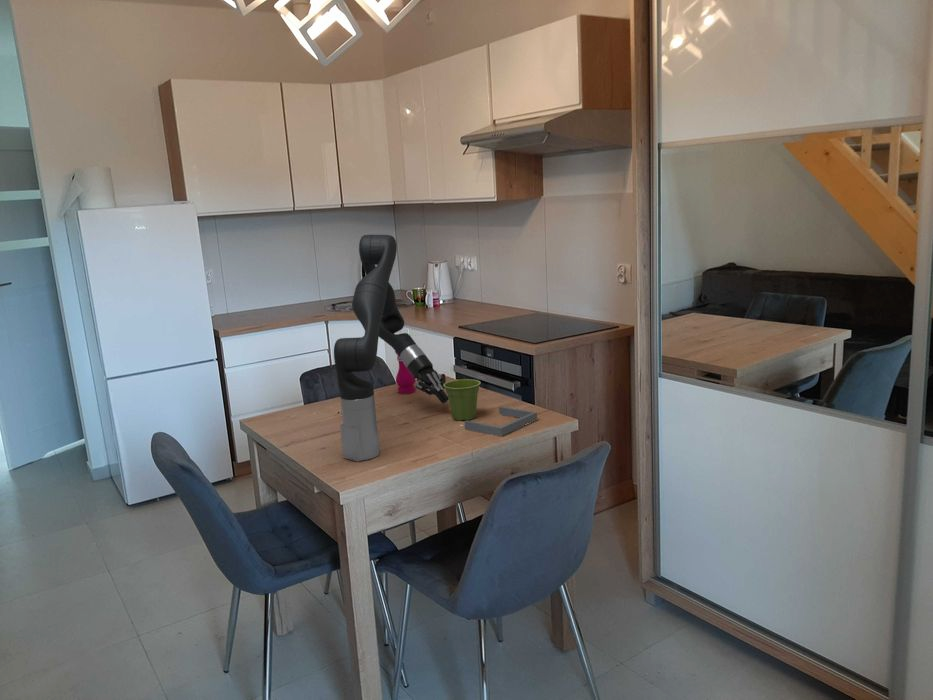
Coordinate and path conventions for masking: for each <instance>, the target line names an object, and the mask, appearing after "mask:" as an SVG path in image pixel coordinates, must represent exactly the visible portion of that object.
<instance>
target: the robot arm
mask: <svg viewBox="0 0 933 700" xmlns="http://www.w3.org/2000/svg"><path fill="white" fill-rule="evenodd" d="M397 244H398V243H397V241H396V238H395V237H394V236H393V235H389V234H364V235H362V236H361V237H360V239H359V244H358V252H359V253H358V254H359V259H360V262H361V264H362V265H361V266H362V267H363V270H364V273H365V276H363V278H362V279H360V281H358V283H357V284H356V286H355V290H354V293H353V297H352V302H351V303H352V304H351V307H352V310H353V313H354V315H355V316H356V318H357V319H358V321H359V322H360V324H361V326H362V328H363V330H364V334H363V336H361V337H360V336H359V337H340V338H338V339H336V340H335V343H334V346H333V359H334V361H333V362H334V366H335V371H336V372H335V373H336V380H337V386H338V391H339V397H340V406H341V407H340V408H341V409H340V410H341V419H342V424H340V426H339V429H340V437H341V438H340V439H341V446H342V447H341V448H342V457H343V459H346V460H350V461H354V462H358V463H359V462H362V461H367V460H371V459H374V458H376V457H378V456H379V455H380V443H379V434H378V433H379V432H378V431H379V430H378V421H377V411H376V410H377V409H376V400H375V399H376V398H375V390H374V389H375V388H374V385H373V383H372V382H370V381H367V380H364V379H361V378H360V377H358V376H356V375H355V374H354V372H359V373H360V372H369V371H370V372H371V370H373V369H374V368H375V364H376V362H377V356H378V346H379V338H380V339H381V340H383V341H384V342H385V343H386V344H388V345H389V346H390V347H392V349H393V350H394V352H395V351H396V352H397V354H398V355H399V357H400V358H401V360H402V362H403V363H404V365H405V366H406V367H407V369H408V370H409V372H410V373H411V374H412V376H413V377H414V378H415V379H416V381H417V384H416V385H415V389H418V390H419V391H421V392H423V393H425V394H427V395H429V396H432V395H434V396H435V397H436V399H438V401H439V402H440V403H441V404H446V403H447V402H449V399H448V395H447V393H446V391H445V390H444V389H445V387H444V386H443V385H444V383H446V382H447V381H446V374H445V373H441V374H439V373H438V372H437V370H435V369H434V367H433V366H434V365H433V363H432V362H431V360H430V359H429V357H427V355H426V353H424V351H423V350H422V348H420V347H419V346H418V344H417V343H416V341H415V340H414V338H412V337H411V334H409V333H406V332H404V333H399V334H396V333H398V332H400V331H401V330H403V329H404V326H405V319H404V317H403V315H402V314H401V313H400V311H399V308H398V306H397V299H396V295H395V290H394V287H393V286H392V285H391V283H390V282H389V281H390V277H391V274H392V271H393V267H394V265H395V260H396V257H397V252H398V251H397V248H398V245H397ZM397 354H396V355H397ZM398 355H397V356H398Z"/></svg>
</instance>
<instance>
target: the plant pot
mask: <svg viewBox="0 0 933 700" xmlns="http://www.w3.org/2000/svg"><path fill="white" fill-rule="evenodd" d="M480 385H481V381H480V380H477V379H471V378H470V379H469V378H468V379H465V378H463V379H455V380H449V381H446V383H444V385H443V386H444V387H445V388H444V389H445V393H446V395H447V396H448V399H449V400H448V402H449V406H450V410H451V411H450V412H451V415H452V419H454V420H455V421H463V420H464V421H466V420H467V421H470V420H472V419H474V418H476V416H477V404H478V396H479V395H478V394H479V393H478V392H479V390H480V387H479V386H480Z"/></svg>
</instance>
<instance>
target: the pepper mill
mask: <svg viewBox="0 0 933 700" xmlns="http://www.w3.org/2000/svg"><path fill="white" fill-rule="evenodd" d="M394 353H395V354H396V358H397V359H396V360H397V361H398V370H397V371H398V372H397V373H396V377H395V383H396V385H397V386H398V387H397V393H398V392H399V393H398V394H400V393H409V394H413V393H415V392H416V385H415V383H416V381H417V379H415V378H414V377H413V376H412V374H411V373H410V372H409V370H408V369H407V367H406V366H405V365H404V363H403V362H402V360H401V358H400V357H399V355H398V354H397V352H396V351H395V350H394ZM414 391H415V392H414ZM412 392H413V393H412Z"/></svg>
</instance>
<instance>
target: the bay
mask: <svg viewBox="0 0 933 700" xmlns="http://www.w3.org/2000/svg"><path fill="white" fill-rule="evenodd" d="M498 412H499V413H498V414H502V415H501V416H505V415H507V417H510V416H514V417H513V418H516V417H521V418H516V420H514V421H511V422H509V423H506V424H504V425H501V426H497V425H493V424H492V425H491V424H486V423H481V422H477V421H472V420H471V421H470V420H464V422H463V423H464V430H466V431H467V430H468V431H471V430H472V432H477V433H481V432H482V434H487V435H491V434H493V435H492V436H495V435H498V436H497V437H500V436H502V437H504V436H506V435H508V434H507V433H509V432H511V433H513V432H515V431H517V430H519V429H521V428H523V427H522V426H523V425H525V424H527V423H530V422H532V421H534V420H536V419H537V420H538V412H537V411H532V410H524V409H518V408H513V407H508V406H498ZM534 422H535V421H534ZM532 423H533V422H532ZM530 424H531V423H530ZM520 427H521V428H520ZM518 428H519V429H518ZM516 429H517V430H516ZM514 430H515V431H514ZM512 431H513V432H512ZM505 434H506V435H505ZM509 434H510V433H509ZM503 435H504V436H503Z"/></svg>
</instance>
